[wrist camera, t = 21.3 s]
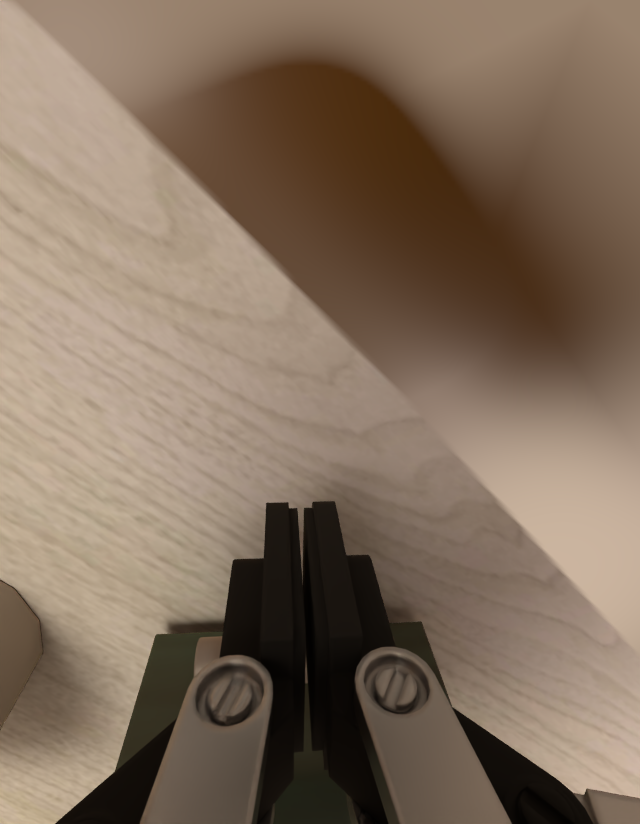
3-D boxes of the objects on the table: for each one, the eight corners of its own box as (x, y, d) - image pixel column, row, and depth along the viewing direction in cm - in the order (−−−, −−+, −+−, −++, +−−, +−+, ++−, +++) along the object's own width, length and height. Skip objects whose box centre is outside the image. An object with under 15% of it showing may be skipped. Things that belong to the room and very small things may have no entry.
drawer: (143, 551, 17) (46, 785, 10) (434, 541, 18) (534, 747, 11) (183, 820, 24) (143, 1073, 17) (393, 802, 25) (440, 1034, 18)
